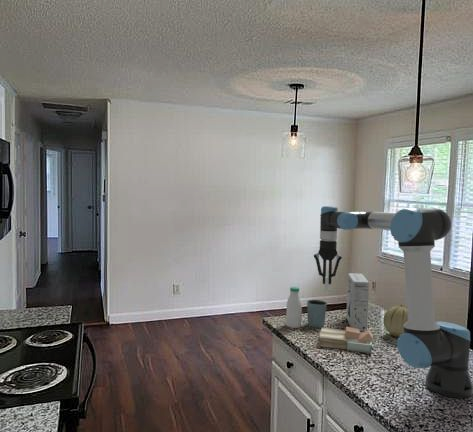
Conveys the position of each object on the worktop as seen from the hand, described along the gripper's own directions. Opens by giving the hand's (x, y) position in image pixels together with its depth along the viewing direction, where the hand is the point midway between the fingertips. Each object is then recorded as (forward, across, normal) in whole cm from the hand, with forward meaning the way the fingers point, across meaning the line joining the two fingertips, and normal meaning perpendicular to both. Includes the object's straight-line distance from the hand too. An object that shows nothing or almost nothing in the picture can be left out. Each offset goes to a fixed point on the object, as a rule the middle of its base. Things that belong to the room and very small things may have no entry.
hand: (326, 290), depth 192 cm
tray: (+24, -15, 0) cm, 28 cm away
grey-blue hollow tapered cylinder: (+24, +6, -23) cm, 34 cm away
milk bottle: (+24, +17, -17) cm, 34 cm away
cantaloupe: (+24, -34, -19) cm, 46 cm away
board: (+24, -4, 0) cm, 24 cm away
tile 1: (+20, -12, 0) cm, 23 cm away
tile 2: (+19, -17, 0) cm, 25 cm away
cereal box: (+24, -14, -31) cm, 42 cm away
